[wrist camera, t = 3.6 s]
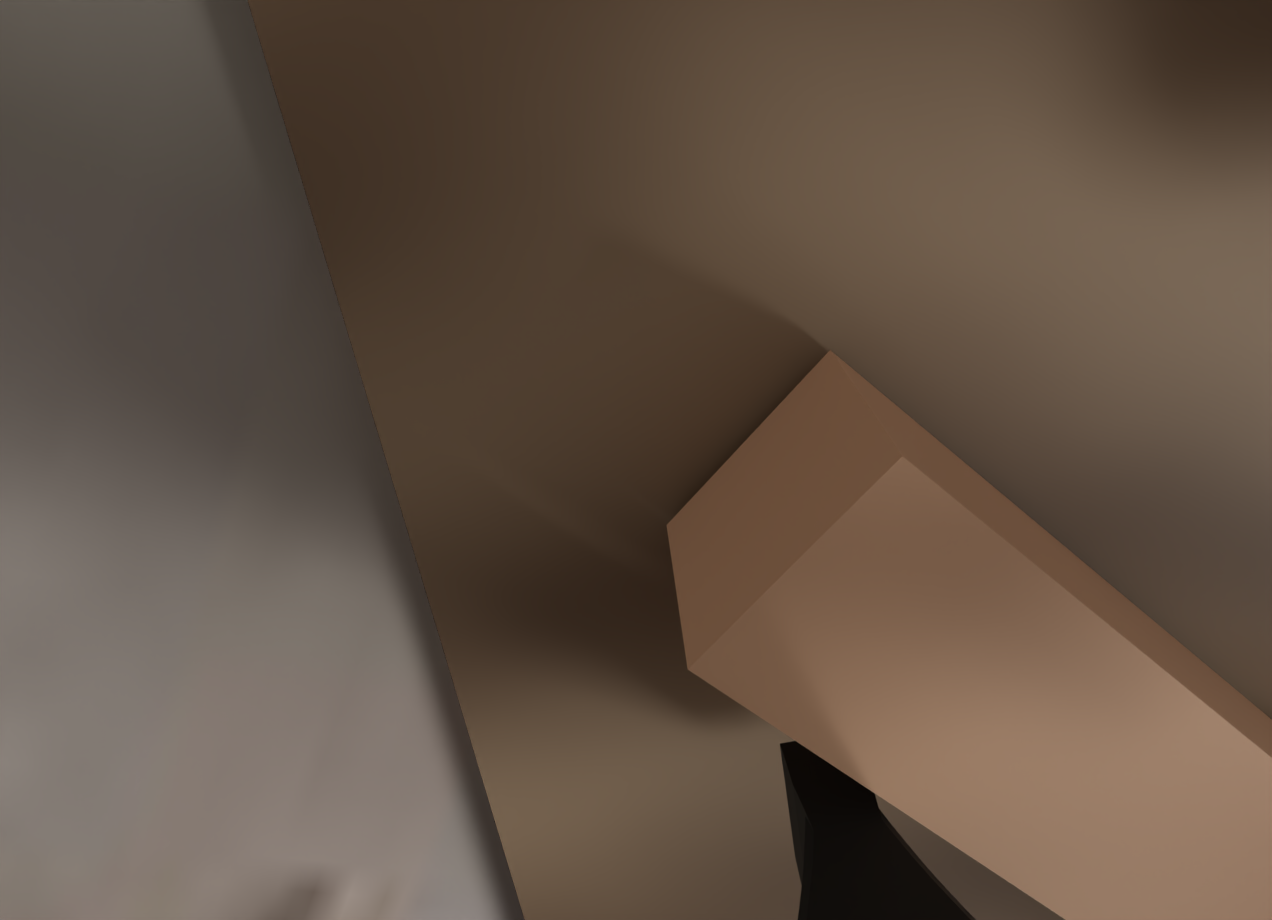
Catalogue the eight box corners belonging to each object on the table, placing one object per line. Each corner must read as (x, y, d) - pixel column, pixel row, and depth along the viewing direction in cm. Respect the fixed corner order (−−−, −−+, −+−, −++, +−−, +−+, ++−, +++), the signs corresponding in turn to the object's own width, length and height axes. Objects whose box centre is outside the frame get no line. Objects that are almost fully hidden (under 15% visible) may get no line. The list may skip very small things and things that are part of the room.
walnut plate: (1485, 922, 18) (1531, 969, 18) (581, 1056, 19) (581, 1109, 18) (1882, -467, 10) (2012, -514, 9) (230, -154, 10) (196, -169, 10)
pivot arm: (1528, 877, 16) (1785, 1117, 13) (1301, 1024, 17) (1476, 1277, 14) (871, 305, 12) (991, 435, 8) (632, 561, 13) (646, 768, 9)
